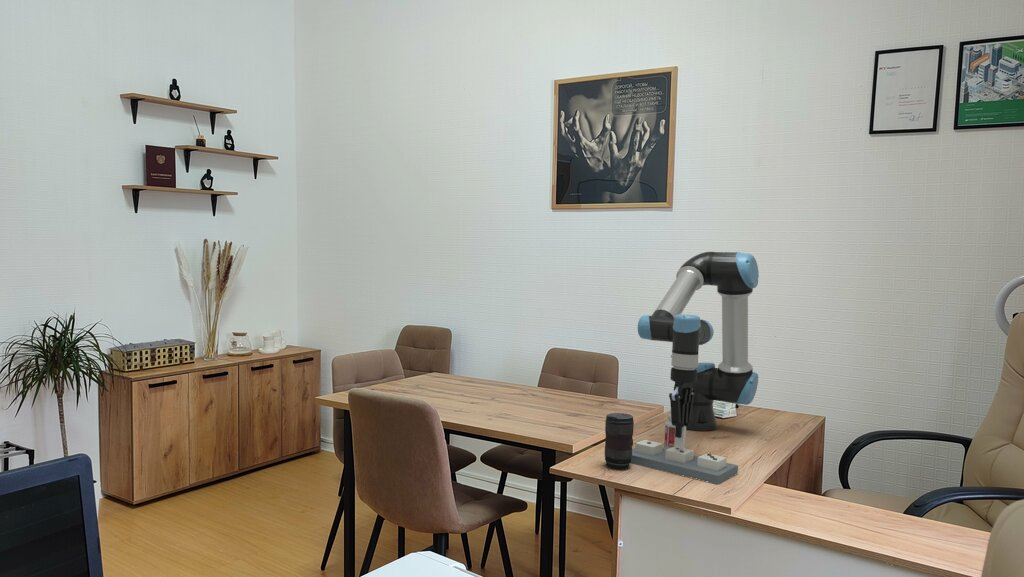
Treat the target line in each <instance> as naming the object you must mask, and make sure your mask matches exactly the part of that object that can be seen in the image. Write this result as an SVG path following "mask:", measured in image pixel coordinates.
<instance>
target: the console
mask: <svg viewBox="0 0 1024 577" xmlns="http://www.w3.org/2000/svg"><path fill="white" fill-rule="evenodd" d="M666 450H667V449H665V448H664V447H663V448H662V453H660V454H658V455H655V456H650V455H645V454H641V453H637V452H635V447H634V448H632V458H631V463H630V464H632V465H633V464H634V465H638V466H642V467H645V468H650V469H653V468H654V470H657V469H658V471H661V470H662V471H663V472H665V471H666V473H669V472H670V473H669V474H673V473H675V474H674V475H677V474H679V475H678V476H681V475H684V476H683V477H685V476H688V477H687V478H689V477H692V478H691V479H693V478H697V479H696V480H698V479H700V480H699V481H702V480H704V481H703V482H706V481H708V482H707V483H710V484H715V485H720V484H721V483H723V482H725V481H726V480H729V479H730V477H731V478H733V477H735V476H736V475H738V474H737V473H739V465H738V464H733V463H729V462H726V468H724V469H722V470H720V471H713V470H709V469H705V468H701V467H697V461H698V457H700V456H698V455H694V454H693V460H692V461H690V462H687V463H685V464H684V463H679V462H675V461H671V460H667V459H665V452H666ZM662 471H661V472H662ZM735 474H736V475H735Z"/></svg>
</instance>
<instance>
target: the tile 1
mask: <svg viewBox="0 0 1024 577" xmlns="http://www.w3.org/2000/svg"><path fill="white" fill-rule="evenodd" d="M634 444H635V445H634V448H635V452H637V453H641V454H645V455H650V456H655V455H658V454H660V453H662V448H664V445H663V444H664V443H661V442H658V441H654V440H653V441H652V440H648V439H643V440H641V441H638V442H636V443H634Z"/></svg>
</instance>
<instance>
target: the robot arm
mask: <svg viewBox="0 0 1024 577" xmlns="http://www.w3.org/2000/svg"><path fill="white" fill-rule="evenodd" d="M758 285H759V266H758V262H757V260H756V258H755V256H754V255H753V254H751V253H747V252H746V253H745V252H738V251H735V252H733V251H732V252H730V251H705V252H701V253H699V254H695V256H693V257H691V258H689V259H688V260H687V261H686V262H684V263H683V264H682V265H681V266H680V267H679V269H678V270H677V271H676V274H675V280H674V281H673V283H672V285H671V286H670V288H668V290H667V292H666V294H665V295H664V297H663V299H662V300H660V302H659V304H658V305H657V307H656V308H655V310H654V312H653V313H652V314H651V315H649V314H647V315H646V314H645V315H642V316H640V318H639V319H638V323H637V332H638V333H637V334H638V336H639V337H640V338H641V339H642V340H643V339H644V340H648V341H649V340H650V341H658V342H667V343H672V344H671V345H672V346H671V349H672V350H671V355H670V358H671V366H672V367H671V368H670V380H671V381H672V382H674V386H673V392H669V394H668V397H669V400H670V401H669V402H670V414H671V421H672V425H674V426H675V441H674V448H679V449H686V439H687V438H686V435H687V430H690V431H697V432H698V431H699V432H706V431H707V432H709V431H713V430H716V429H717V418H716V416H715V410H714V407H713V402H714V401H717V402H721V403H722V402H723V403H729V404H736V405H744V406H745V405H746V406H748V405H750V404H751V403H752V402H754V401H753V400H754V399H755V396H756V393H757V389H758V385H759V384H758V383H759V374H758V373H757V372H755V371H754V370H753V365H752V364H751V363H750V362H749V296H750V295H751V294H753V291H754V289H755V288H757V286H758ZM703 286H713V287H715V286H716V288H717V289H716V291H717V293H718V295H719V296H721V327H722V328H721V334H722V335H721V336H722V338H721V339H722V341H721V342H722V348H721V349H722V352H721V353H722V355H721V356H722V360H721V362H720V363H719V364H718V366H717V367H716V365H715V363H713V362H699V350H700V349H699V348H700V346H703V345H706V344H707V343H709V342H710V341H711V340H712V338H713V337H714V333H715V332H714V328H713V325H712V324H711V323H710V322H709V321H708V320H706V319H701V317H700V316H699V315H696V314H695V315H694V314H687V313H686V314H684V313H683V311H684V310H685V308H686V307H687V306H688V304H689V303H690V300H691V299H692V297H693V296H694V294H695V293H696V291H699V290H700V289H701V288H702V287H703ZM682 313H683V314H682Z"/></svg>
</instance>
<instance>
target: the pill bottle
mask: <svg viewBox="0 0 1024 577" xmlns="http://www.w3.org/2000/svg"><path fill="white" fill-rule="evenodd" d="M674 441H675V426H674V425H672V421H671V413H669V414H668V415H667V421H665V424H664V443H663V444H664V445H663V448H664V449H669V448H672V447H674Z"/></svg>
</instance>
